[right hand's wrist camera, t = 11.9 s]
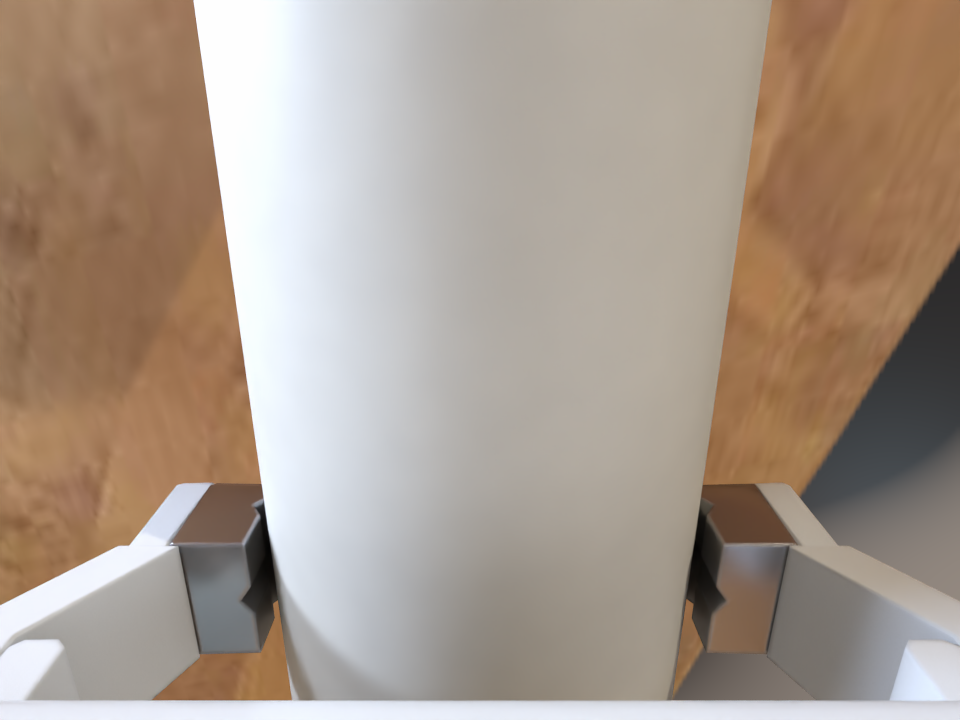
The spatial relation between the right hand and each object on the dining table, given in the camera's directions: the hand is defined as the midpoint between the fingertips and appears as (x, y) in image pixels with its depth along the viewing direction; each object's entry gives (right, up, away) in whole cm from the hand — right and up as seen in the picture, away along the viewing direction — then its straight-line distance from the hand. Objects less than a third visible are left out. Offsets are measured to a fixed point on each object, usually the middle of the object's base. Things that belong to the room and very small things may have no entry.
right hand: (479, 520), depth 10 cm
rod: (0, +10, -1) cm, 10 cm away
